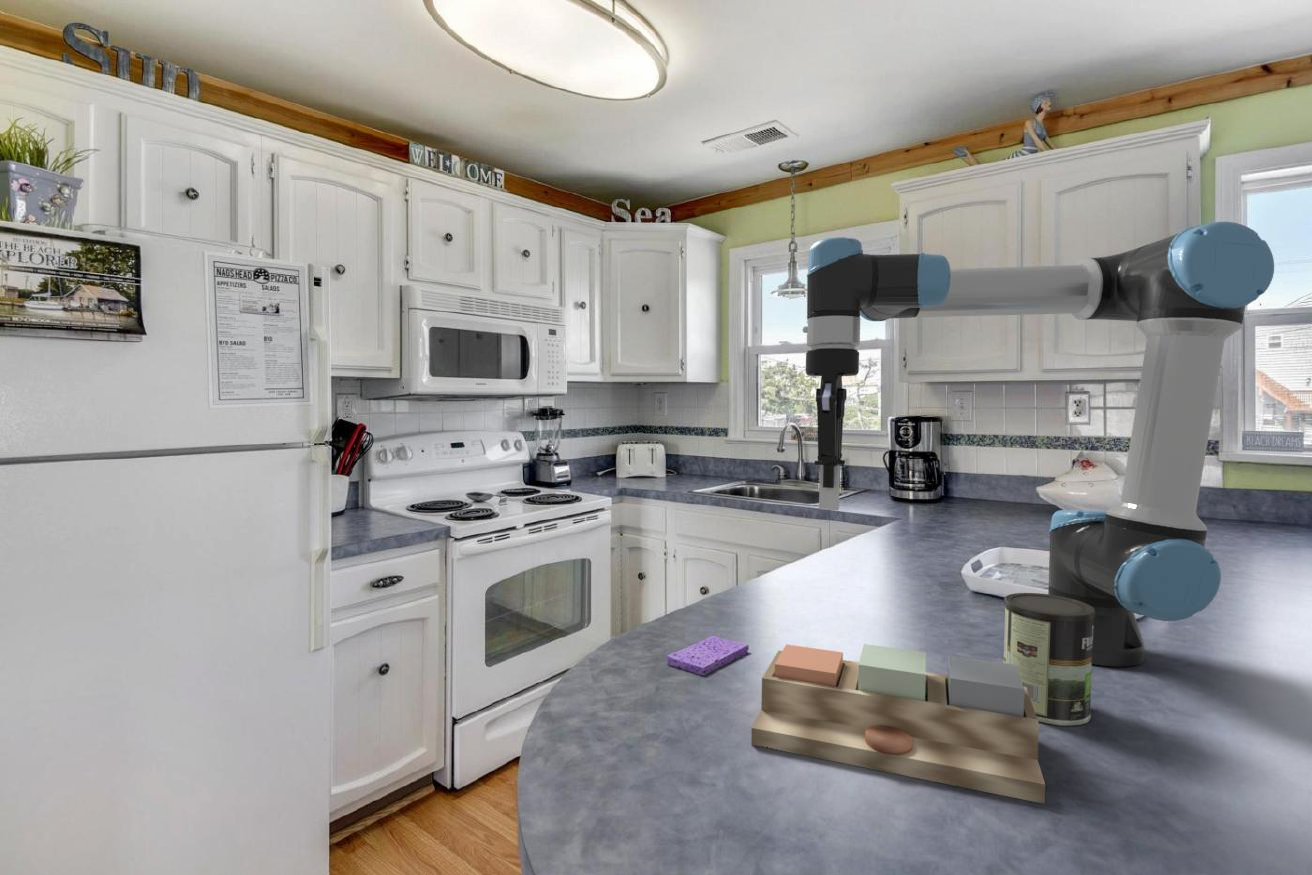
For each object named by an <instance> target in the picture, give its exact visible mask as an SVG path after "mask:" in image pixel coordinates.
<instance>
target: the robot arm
mask: <svg viewBox="0 0 1312 875" xmlns="http://www.w3.org/2000/svg"><path fill="white" fill-rule="evenodd" d="M862 246H863V245H862V242H861V241H860V240H858V239H856V238H852V237H851V238H847V237H843V236H842V237H840V236H839V237H829V238H824V239H821V240H818V241H815V243H813V244H812V245H811V247H810V248H809V250H808V262H807V263H808V265H807V274H806V281H807V283H806V285H807V287H806V290H807V291H806V294H807V296H806V314H807V315H806V320H807V321H806V323H807V325H805V326H803V327H802V332H803V333H804V334H806V346H807V348H808V347H809V348H810V349H808V350H807V351H806V353H805V374H806V375H807V376H810V377H820V388H816V389H815V390H816V391H815V402H816V411H817V415H816V417H817V460H814V466H819V484H818V485H819V486H818V487H819V488H818V490H819V491H818V493H819V494H818V510H827V511H839V510H840V476H841V465H843V466H844V465H845V464H846V460H845V459H842V457H843V453H842V452H843V451H842V450H843V449H842V448H843V430H844V429H843V427H844V417H845V407H846V405H845V403H846V400H847V396H848V394H847V393H848V392H847V391H848V390H847V388H844V387H843V379H842V378H843V377H852V376H853V377H854V376H857V375H858V374H859V371H860V352H859V351H858V349H856V347H858V346H859V345H860V343H861V317H862V318H863V319H864V320H867V321H869V322H884V321H887V320H889V319H911V318H937V317H938V318H940V317H944V318H945V317H977V316H978V317H981V316H983V317H984V316H986V317H988V316H989V317H990V316H1020V315H1021V316H1022V315H1023V316H1024V315H1025V316H1026V315H1027V316H1028V315H1057V314H1058V315H1062V314H1063V315H1064V314H1066V315H1067V314H1069V315H1070V314H1071V315H1072V316H1073V317H1074V318H1075V319H1077V320H1079V321H1080V320H1099V321H1100V320H1106V321H1107V320H1108V321H1109V320H1110V321H1129V322H1130V321H1131V322H1136V327H1137V328H1138V329H1139V330H1140V331H1141V332H1142V333H1143V335H1145V338H1146V343H1145V349H1144V355H1143V361H1142V367H1141V374H1140V380H1139V388H1138V392H1137V398H1136V403H1135V404H1136V405H1135V412H1134V418H1133V423H1132V424H1133V425H1132V430H1131V436H1130V441H1129V446H1128V447H1129V448H1128V453H1127V454H1128V455H1127V459H1126V468H1125V472H1124V477H1123V478H1124V480H1123V485H1122V490H1121V491H1122V492H1121V497H1120V501H1119V502H1118V503H1117V504H1115V505H1114V506H1112V507H1111V508H1109V509H1107V510H1088V509H1087V510H1085V509H1083V510H1082V509H1079V510H1077V509H1061V510H1057V511H1055V512H1054V513H1053V514H1052V516H1051V522H1050V528H1049V532H1048V533H1049V559H1048V560H1049V562H1048V565H1049V566H1048V592H1047V594H1049V595H1056V596H1061V597H1066V598H1070V599H1074V600H1078V601H1081V602H1084V603H1086V604H1088V605H1090V606H1092V607H1093V608H1094V609H1095V617H1094V625H1093V653H1092V665H1096V666H1097V665H1098V666H1103V667H1104V666H1105V667H1132V666H1136V665H1140V664H1142V663H1144V661H1145V651H1146V650H1145V648H1146V647H1145V642H1144V640H1143V637H1142V634H1141V631H1140V630H1141V629H1140V627H1139V625H1138V621H1137V619H1136V615H1139V616H1144V617H1147V618H1150V619H1152V620H1155V621H1162V622H1176V621H1181V620H1186V619H1189V618H1191V617H1193V616H1194V615H1195V614H1197V613H1199V612H1202V611H1204V610H1205V609H1206V608H1207V607H1208V606H1209V605H1210V604H1211V603H1212V602H1213V600H1214V599H1215V597H1216V595H1217V593H1218V592H1219V590H1220V586H1221V581H1222V580H1221V579H1222V574H1221V573H1222V572H1221V569H1220V565H1219V562H1218V561H1216V560H1215V558H1214V555H1213V553H1212V552H1211V551H1210V550H1208V549H1207V548H1205V544H1206V539H1207V533H1208V526H1207V524H1205V523H1204V522H1203V521H1202V520H1201V518H1200V517H1198V514H1197V506H1198V501H1199V496H1200V490H1201V489H1200V488H1201V483H1202V477H1203V471H1204V467H1205V466H1204V465H1205V459H1206V455H1207V454H1206V453H1207V447H1208V442H1209V436H1210V431H1211V430H1210V429H1211V425H1212V424H1211V422H1212V418H1213V412H1214V406H1215V400H1216V393H1217V387H1218V383H1219V376H1220V371H1221V365H1222V360H1223V353H1224V347H1225V341H1226V340H1227V339H1228V338H1229V337H1231V336H1233V335H1234V334H1235V333H1236V332H1238V331H1240V330H1241V329H1242V326H1243V324H1244V323H1243V321H1244V316H1245V311H1246V306H1248V305H1249V304H1251V303H1253V302H1254V301H1256V300H1258V298H1259V297H1260V296H1262V295H1263V294H1264V293H1265V292H1266V291H1267V290H1268V289H1269V287H1270V285H1271V284H1272V280H1273V278H1274V274H1275V260H1274V255H1273V252H1272V249H1271V248H1270V246H1269V244H1268V243H1267V242H1266V240H1264V239H1262V238H1261V236H1259V233H1258V232H1257V231H1255V230H1254V229H1252V228H1250V227H1248V226H1246V225H1244V224H1241V223H1237V222H1233V221H1215V222H1210V223H1206V224H1202V225H1196V226H1191V227H1188V228H1186V229H1184V230H1183V231H1181V232H1179V233H1176V234H1174V235H1170V236H1168V237H1166V238H1163V239H1161V240H1157V241H1154V242H1151V243H1148V244H1145V245H1143V246H1142V245H1141V246H1139V247H1137V248H1134V249H1130V250H1128V251H1125V252H1121V253H1118V254H1112V255H1108V256H1100V257H1086V258H1082V259H1080V260H1079V261H1078V262H1077V263H1076V264H1068V265H1067V264H1066V265H1041V266H1040V265H1038V266H1009V267H1007V266H1006V267H1005V266H1003V267H981V268H955V269H953V268H951V266H950V262H949V260H948V259H947V257H946V256H944V255H942V254H934V253H932V254H931V253H924V252H920V253H906V254H905V253H904V254H898V253H897V254H869V253H864V250H863V248H862ZM1135 614H1136V615H1135Z"/></svg>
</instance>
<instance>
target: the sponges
mask: <svg viewBox="0 0 1312 875" xmlns="http://www.w3.org/2000/svg"><path fill="white" fill-rule="evenodd" d="M749 648H750V647H749V644H748V643H742V642H738V641H734V640H733V641H732V640H729V639H725V638H724V639H723V638H721V637H719V636H715V635H712V636H710V637H707V638H705V639H703V640H701V641H699V642H697V643H694V644H692V645H690V646H688V647H685V648H682V649H680V650H677V651H675V652H672V653H670V654H668V655H667V656H666V665H668V666H672V667H674V668H677V669H681V670H684V671H687V672H689V673H693V674H697V675H700V676H706V675H708V674H709V673H712V672H714V671H716V670H717V669H719V668H721V667H723V666H725V665H727V664H729V663H730V662H733V661H734V660H736V659H738V658H740V657H742V656H744V655H747V654H748V651H749V650H750V649H749Z"/></svg>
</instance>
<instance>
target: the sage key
mask: <svg viewBox="0 0 1312 875" xmlns="http://www.w3.org/2000/svg"><path fill="white" fill-rule="evenodd" d="M858 662H859V670H858V690H859V691H865V692H871V693H878V694H884V695H890V696H896V697H902V698H908V699H915V700H921V701H925V683H926V672H927V670H926V669H927V666H926V665H927V664H926V663H927V653H926V651H918V650H912V649H911V650H910V649H904V648H903V649H902V648H897V647H896V648H895V647H890V646H889V647H888V646H882V645H876V644H875V645H873V644H869V643H864V644H863V647H862V650H861V654H860V658H859V661H858Z"/></svg>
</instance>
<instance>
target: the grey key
mask: <svg viewBox="0 0 1312 875" xmlns="http://www.w3.org/2000/svg"><path fill="white" fill-rule="evenodd" d="M947 660H948V661H947V675H948V687H947V699H948V705H952V706H958V707H964V708H970V709H976V710H982V711H989V712H995V713H1001V714H1007V715H1013V716H1019V717H1024V691H1025V689H1024V686H1023V683H1022V680H1021V677H1020V674H1019V672H1018V669H1017V666H1016V665H1014V664H1007V663H1004V662H1001V661H1000V662H998V661H992V660H991V661H990V660H984V659H976V658H969V657H962V656H955V655H949V654H948V657H947Z"/></svg>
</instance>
